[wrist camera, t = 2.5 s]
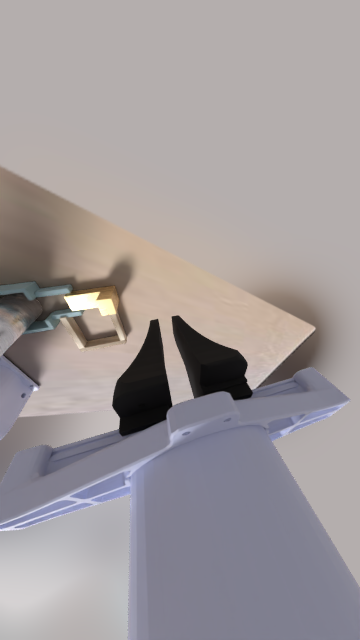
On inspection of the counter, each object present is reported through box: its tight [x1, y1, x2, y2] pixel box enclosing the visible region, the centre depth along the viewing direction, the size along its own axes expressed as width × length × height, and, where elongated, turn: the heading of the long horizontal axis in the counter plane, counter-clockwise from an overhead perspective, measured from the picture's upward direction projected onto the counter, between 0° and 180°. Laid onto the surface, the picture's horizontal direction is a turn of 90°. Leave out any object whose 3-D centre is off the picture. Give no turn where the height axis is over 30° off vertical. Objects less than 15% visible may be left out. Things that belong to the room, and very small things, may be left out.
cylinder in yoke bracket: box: [0, 293, 42, 357], centre depth 15 cm, size 4×4×8 cm
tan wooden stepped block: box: [64, 286, 119, 316], centre depth 18 cm, size 2×6×4 cm, turn 93°
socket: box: [0, 281, 84, 335], centre depth 17 cm, size 6×10×4 cm, turn 93°
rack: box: [59, 311, 127, 352], centre depth 22 cm, size 6×7×2 cm
